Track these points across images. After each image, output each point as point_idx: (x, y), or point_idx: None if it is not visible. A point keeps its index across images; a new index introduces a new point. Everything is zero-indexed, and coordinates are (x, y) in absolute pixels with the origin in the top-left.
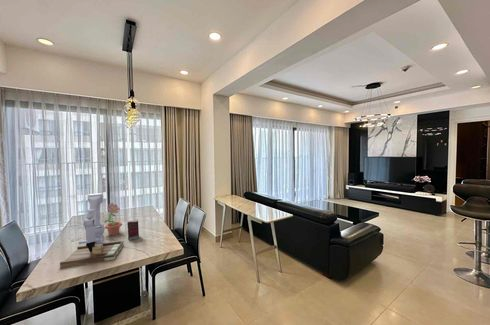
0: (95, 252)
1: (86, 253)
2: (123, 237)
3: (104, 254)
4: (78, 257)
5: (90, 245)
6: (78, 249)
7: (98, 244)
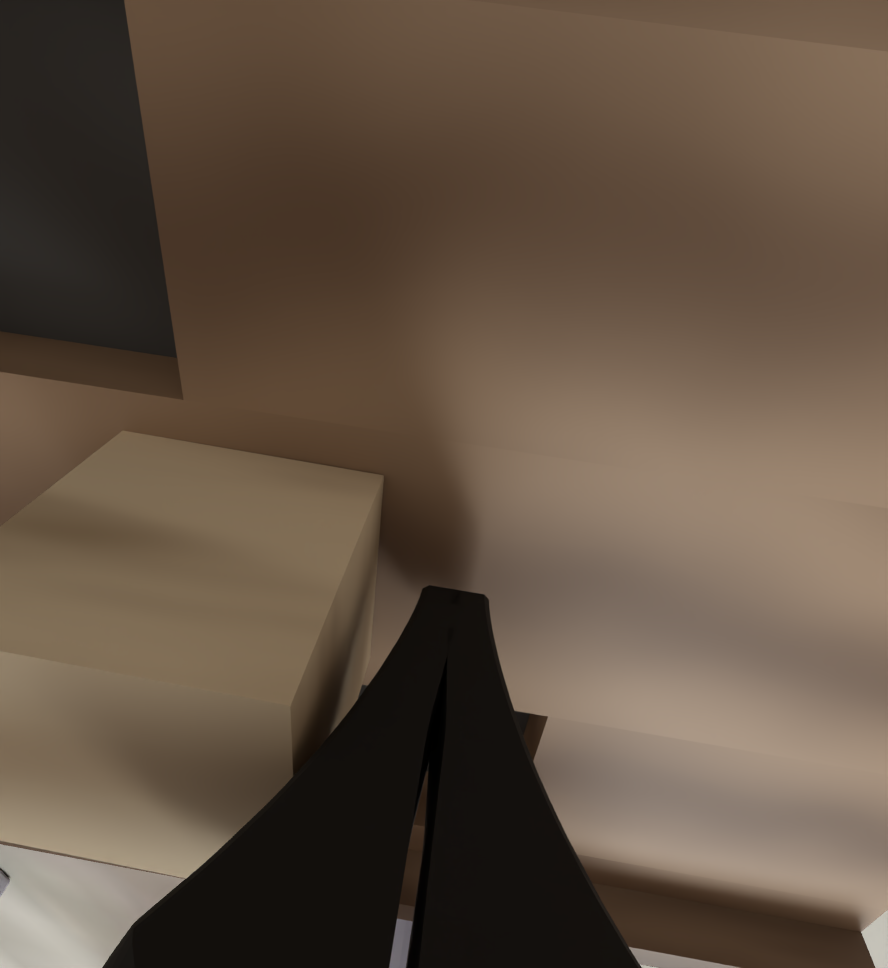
0: (261, 489)
1: (613, 629)
2: (126, 929)
3: (2, 347)
4: (878, 439)
5: (348, 922)
6: (838, 907)
7: (163, 869)
